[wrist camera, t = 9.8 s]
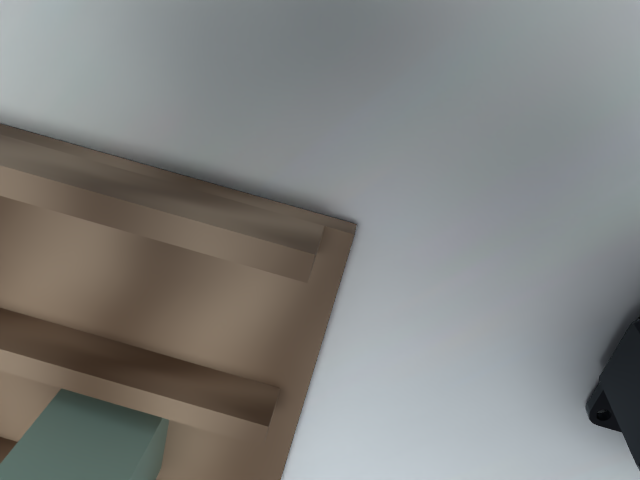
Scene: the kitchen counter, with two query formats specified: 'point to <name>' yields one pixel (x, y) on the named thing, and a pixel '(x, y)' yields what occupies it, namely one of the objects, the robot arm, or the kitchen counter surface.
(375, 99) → the kitchen counter surface
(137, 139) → the kitchen counter surface
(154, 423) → the green block
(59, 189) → the divided brown tray
